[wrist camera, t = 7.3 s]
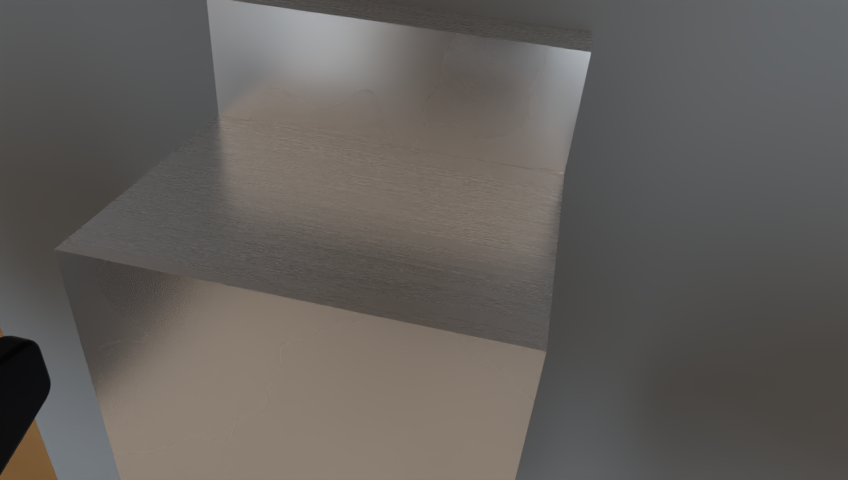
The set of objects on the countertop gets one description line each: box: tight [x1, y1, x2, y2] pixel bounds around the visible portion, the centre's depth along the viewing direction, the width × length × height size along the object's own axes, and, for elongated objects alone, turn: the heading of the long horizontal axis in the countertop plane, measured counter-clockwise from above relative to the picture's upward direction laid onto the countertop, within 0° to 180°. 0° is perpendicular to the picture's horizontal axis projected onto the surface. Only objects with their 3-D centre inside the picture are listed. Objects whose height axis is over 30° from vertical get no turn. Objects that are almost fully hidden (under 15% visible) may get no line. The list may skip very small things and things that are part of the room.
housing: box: [54, 0, 592, 480], centre depth 9 cm, size 10×4×4 cm, turn 176°
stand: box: [0, 0, 848, 480], centre depth 12 cm, size 16×16×3 cm
